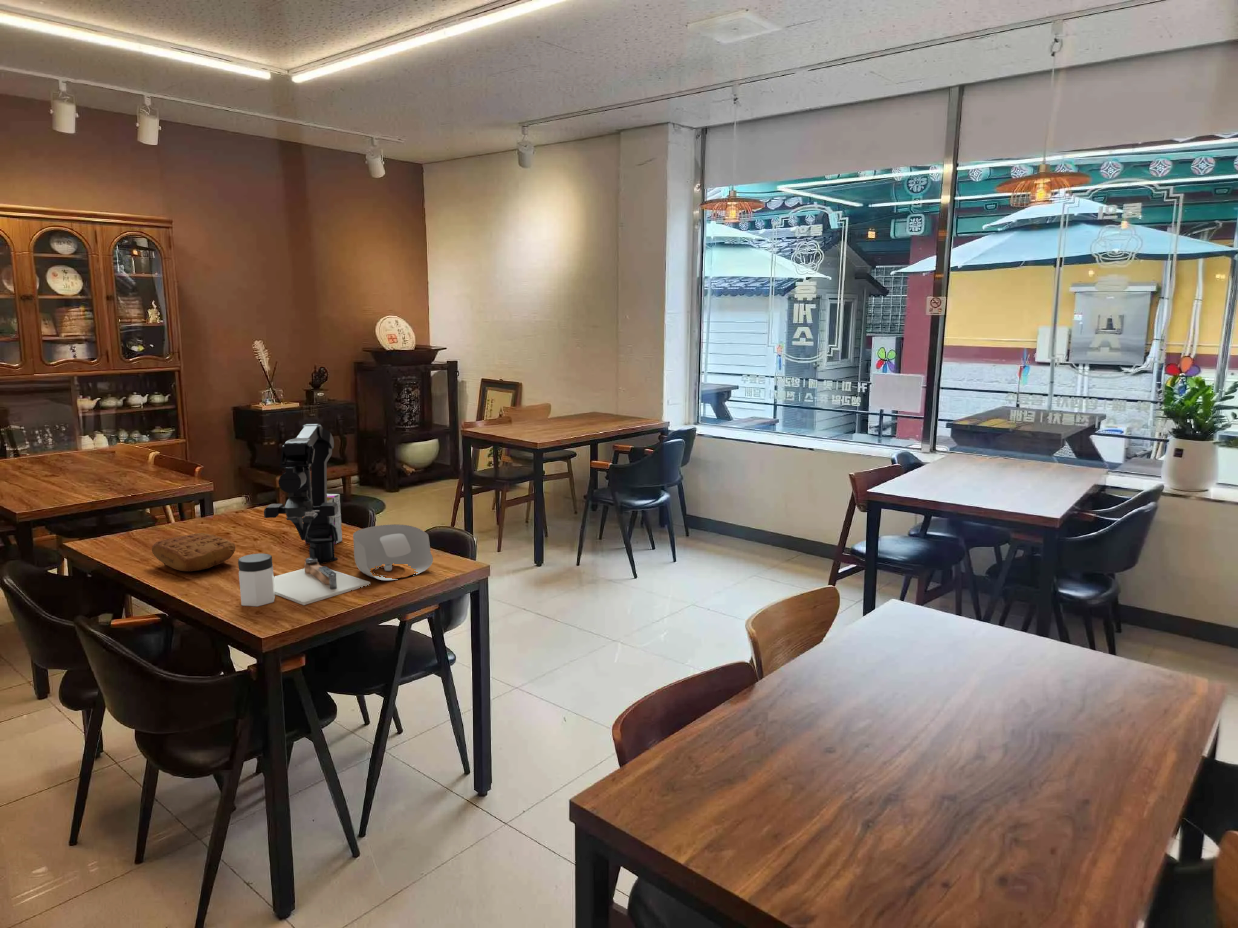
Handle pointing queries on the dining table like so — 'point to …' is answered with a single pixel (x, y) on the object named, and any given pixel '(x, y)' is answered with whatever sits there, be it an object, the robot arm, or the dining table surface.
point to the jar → (256, 579)
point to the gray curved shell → (391, 548)
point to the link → (316, 572)
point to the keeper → (325, 572)
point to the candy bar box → (338, 516)
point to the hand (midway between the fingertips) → (303, 539)
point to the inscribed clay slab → (193, 551)
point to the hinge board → (313, 586)
